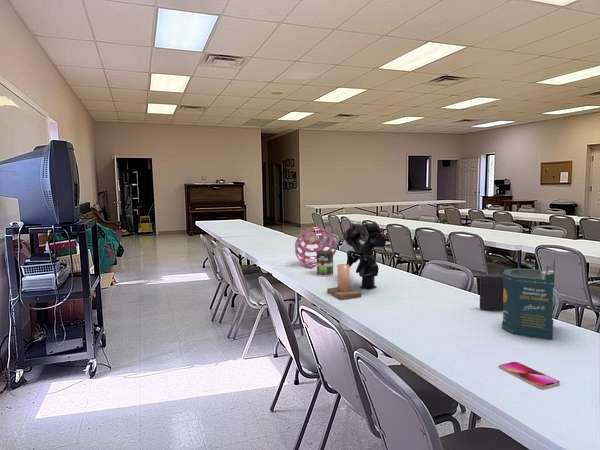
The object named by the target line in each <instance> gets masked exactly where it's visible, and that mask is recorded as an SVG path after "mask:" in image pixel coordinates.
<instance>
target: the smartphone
mask: <svg viewBox="0 0 600 450" xmlns="http://www.w3.org/2000/svg"><path fill="white" fill-rule="evenodd" d="M498 368H499V369H500V370H502V371H504V372H506V373H507V374H510V375H512V376H513V377H515V378H518V379H519V380H521V381H523V382H525V383H527V384H529V385H531V386H533V387H535V388H537V389H539V390H547V389H550V388H555V387H559V386H560V385H561V381H559V380H558V379H556V378H553V376H552V377H551V376H549V375H547V374H545V373H542V372H541V371H538V370H537V369H533V368H531V367H530V366H527V365H525V364H523V363H521V362H518V361H509V362H508V363H507V362H505V363H502V364H499V365H498Z"/></svg>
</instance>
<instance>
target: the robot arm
mask: <svg viewBox="0 0 600 450" xmlns="http://www.w3.org/2000/svg"><path fill="white" fill-rule="evenodd" d="M382 233H383V232H382V231H381V230H380V227H379V225H378V224H377V223H375V222H374V223H364V224H362V223H352V224H351V225H350V226H349V228H348V229H346V230H345V233H344V237H343V239H344V241H345V243H346V244H347V245H348V246H350V247H352V249H353V250H348V251H347V252H346V256H347V259H346V264H348V265H349V269H350V268H351V266H352V265H354V264H355V263H358V265H357V266H356V270H355V273H356V274H359V277H360V278H361V285H360V286H359V287H360V288H362V289H365V290H371V289H375V288H378V286H377V285H376V284H375V279H376V278H375V277H377V276H378V274H379V264H378V262H377V261H376V259H375V257H374V256H373V255H374V249H375V248H384V247H385V246H386V244H387V241H386V237H384V236H383V234H382ZM362 235H364V236H365V237H366V240H365V241H364V243H363V244H362V243H361V237H362ZM358 261H359V262H358Z"/></svg>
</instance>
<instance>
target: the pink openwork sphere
mask: <svg viewBox="0 0 600 450" xmlns="http://www.w3.org/2000/svg"><path fill="white" fill-rule="evenodd" d="M314 231H317V232H314ZM310 232H313V233H310ZM307 233H309V234H307ZM306 234H307V235H306ZM317 236H319V237H318V238H316V237H317ZM311 237H312V238H314V240H311V241H310V239H311ZM324 237H326V240H325V241H324V243H323V244H322V245H321V244H320V243H321V242H322V240H323V239H324ZM300 238H301V239H300ZM330 241H332V242H331V245H330V247H329V248H328V249H327V250H326V251H333V257H334V256H335V254H336V252H337V247H338V246H337V242H336V239H335V237H334V235H333V234H332V233H331V232H330V231H328V230H327V229H325V228H322V227H320V226H312V227H309V228H306V229H305V230H303V231H302V232H301V233H300V234H299V235H298V237H297V238H296V240H295V243H294V249H295V251H294V253H295V256H296V258H297V259H298V260H299V262H301V263H302V264H303V265H304V266H305V268H309V269H313V268H315V267H317V261H316V262H315V261H314V262H312V261H311V262H310V260H317V255H307V254H306V253H316V252H317V251H325V248H326V247H327V246H329V243H330ZM302 242H303V243H304V245H302ZM308 245H309V246H313V245H314V246H315V245H317V247H315V248H307V246H308ZM334 247H335V248H334ZM298 248H299V249H300V250H301V252H300V250H298ZM306 260H309V261H306Z"/></svg>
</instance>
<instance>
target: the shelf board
mask: <svg viewBox="0 0 600 450" xmlns="http://www.w3.org/2000/svg"><path fill="white" fill-rule="evenodd" d="M326 289H327V290H326V291H327V294H330V296H331V295H332V296H333V297H335V298H336V299H338V300H339V301H344V300H346V301H347V300H351V299H360V298H362V293H361V292H360V291H357V290H356V289H353V288H352V287H350V291H349V292H338V286H336V287H328V288H326Z"/></svg>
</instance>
